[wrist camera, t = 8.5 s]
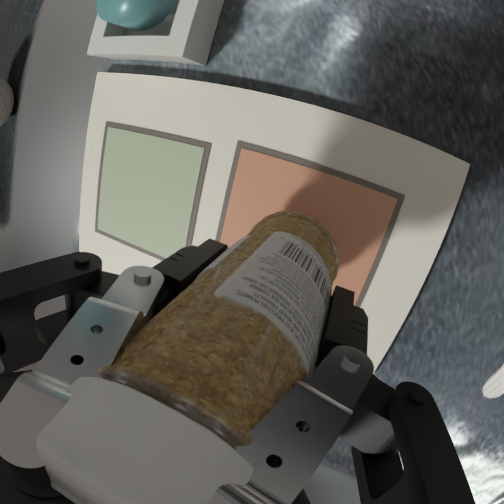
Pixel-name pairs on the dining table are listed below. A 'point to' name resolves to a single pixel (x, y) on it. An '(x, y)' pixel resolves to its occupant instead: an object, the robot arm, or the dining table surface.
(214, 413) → the sprinkles bottle
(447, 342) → the dining table surface
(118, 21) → the button
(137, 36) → the button housing
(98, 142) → the picture board
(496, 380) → the spoon
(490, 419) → the dining table surface
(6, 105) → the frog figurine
